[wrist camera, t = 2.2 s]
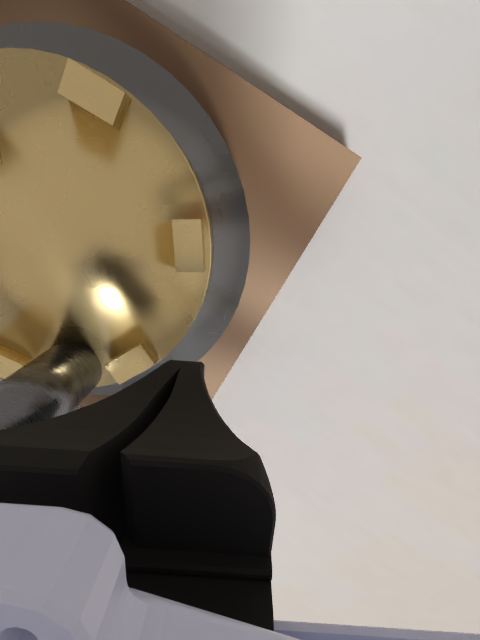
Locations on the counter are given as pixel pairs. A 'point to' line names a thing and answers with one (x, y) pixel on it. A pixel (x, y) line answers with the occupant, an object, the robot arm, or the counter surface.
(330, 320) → the counter surface
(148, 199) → the ring nut
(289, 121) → the walnut base board
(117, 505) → the robot arm
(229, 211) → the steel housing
